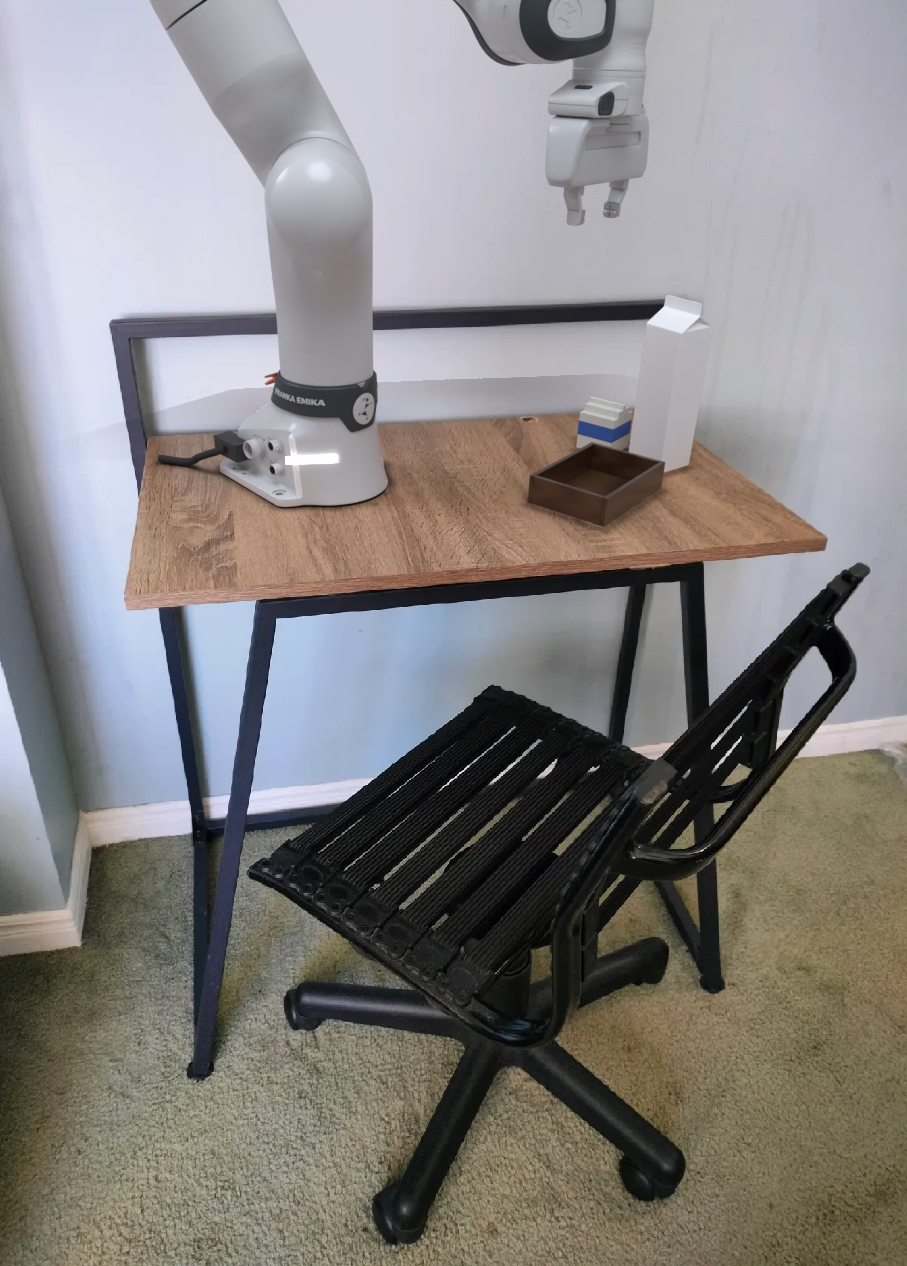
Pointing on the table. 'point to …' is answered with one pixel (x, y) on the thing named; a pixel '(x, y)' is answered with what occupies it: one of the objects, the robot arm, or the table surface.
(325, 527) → the table surface
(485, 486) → the table surface
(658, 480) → the box
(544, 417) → the table surface
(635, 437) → the milk
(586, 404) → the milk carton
